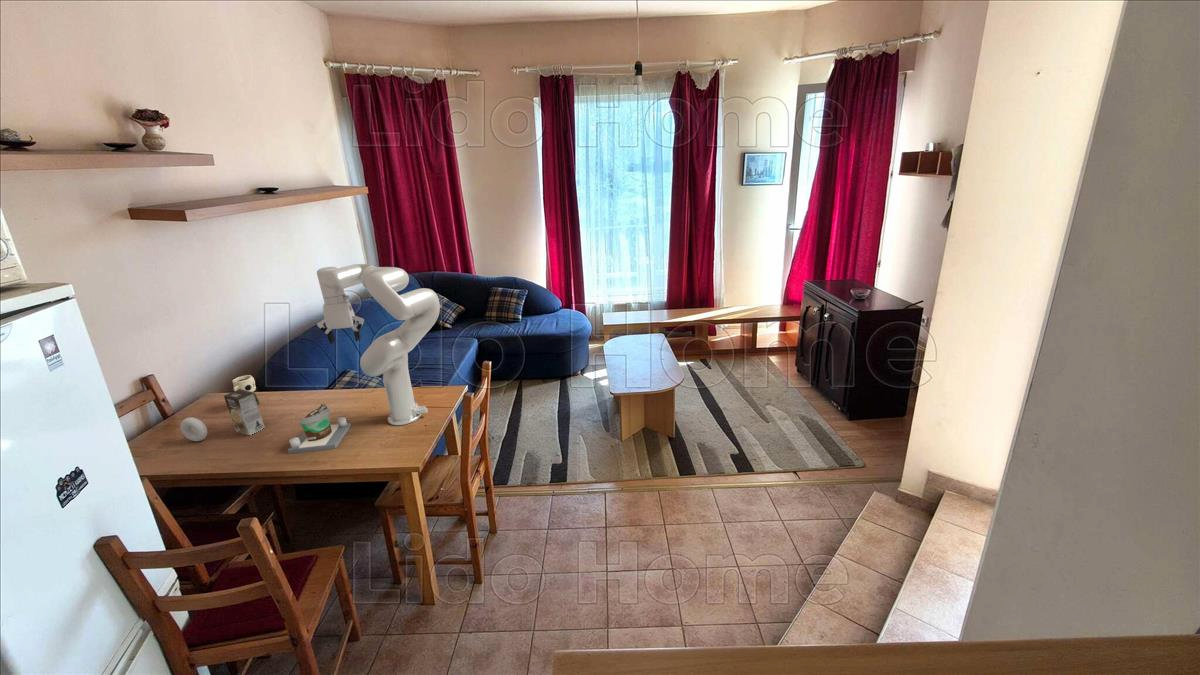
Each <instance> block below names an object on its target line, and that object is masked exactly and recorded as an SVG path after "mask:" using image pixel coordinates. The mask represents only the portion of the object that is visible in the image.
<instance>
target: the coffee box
mask: <svg viewBox="0 0 1200 675" xmlns="http://www.w3.org/2000/svg"><path fill="white" fill-rule="evenodd" d="M253 392H254V391H253ZM253 392H249V391H246V390H242V389H239V390H236V391H234V390H233V391H232V392H229V393H227V394H225V395H223V398H224V401H225V404H226V406H227V410H228V412H229V415H230V419H231V421H232V423H233V426H234V429H235V432H237V433H239V434H241V435H245V434H246V436H248V435H251V436H252V434H253V435H255V434H257V433H258V431H259V432H261V431H263V430H264V429H263V428H265V429H266V427H265V424H264V422H263V421H264V420H263V417H262V415H261V412H260V409H259V406H258V402H256V399H255V396H254V393H255V392H254V393H253ZM262 429H263V430H262ZM260 430H261V431H260ZM256 432H257V433H256ZM254 433H255V434H254Z"/></svg>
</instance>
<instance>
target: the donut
mask: <svg viewBox="0 0 1200 675" xmlns="http://www.w3.org/2000/svg"><path fill="white" fill-rule="evenodd" d="M180 432H181V433H182V435H183V436H184V437H185V438H186V439H187V440H190V441H191V442H201V441H203V440H205V439H206V437H207V436H208V428H207V426H206V425H205V423H204V422H203V421H201V419H199V418H196V417H191V416H190V417H186V418H185V419H183V420H182V421H181V422H180Z"/></svg>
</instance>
